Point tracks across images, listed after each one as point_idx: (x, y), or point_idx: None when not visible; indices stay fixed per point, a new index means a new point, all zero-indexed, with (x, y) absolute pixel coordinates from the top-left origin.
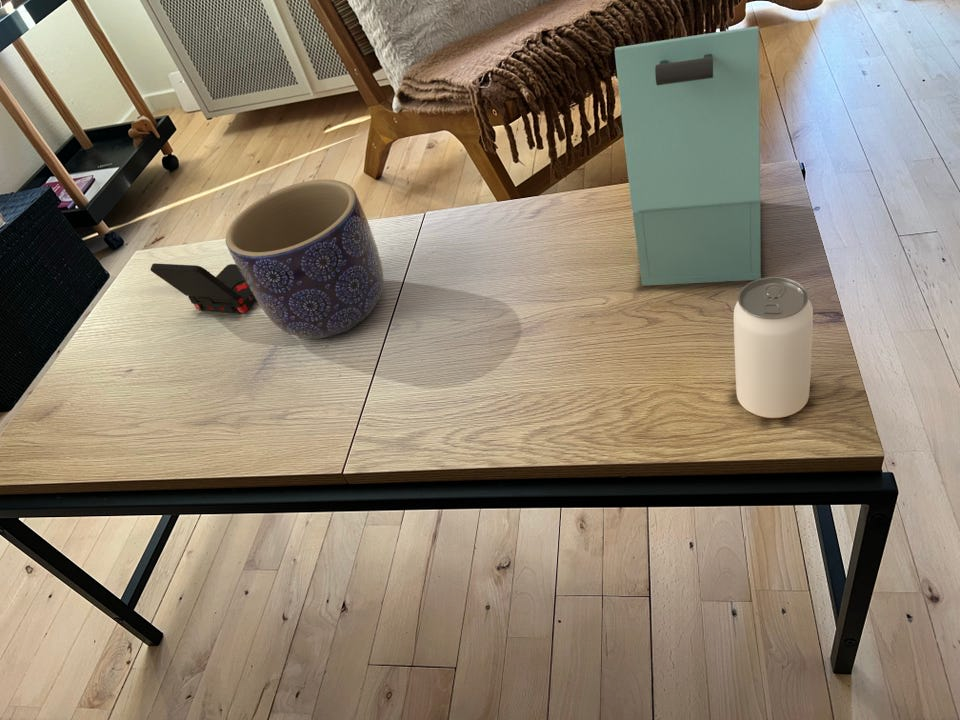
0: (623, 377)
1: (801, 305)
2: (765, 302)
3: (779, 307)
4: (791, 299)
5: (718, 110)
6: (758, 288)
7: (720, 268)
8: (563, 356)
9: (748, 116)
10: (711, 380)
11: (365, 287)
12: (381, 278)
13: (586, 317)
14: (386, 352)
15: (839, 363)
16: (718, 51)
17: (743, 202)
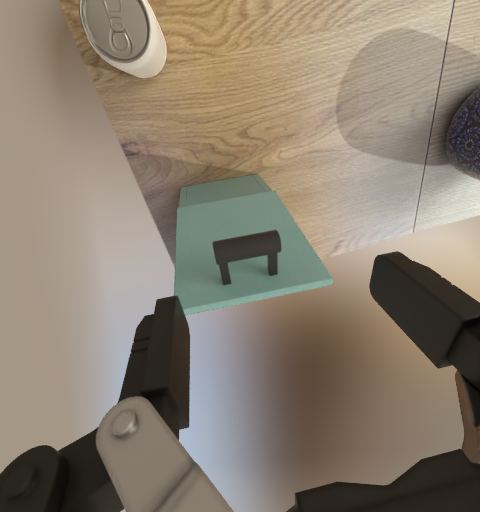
0: (253, 60)
1: (86, 12)
2: (121, 14)
3: (105, 4)
4: (99, 24)
5: (212, 247)
6: (136, 45)
7: (206, 186)
8: (301, 83)
9: (185, 247)
10: (188, 63)
11: (474, 113)
12: (454, 140)
13: (290, 134)
14: (436, 74)
15: (104, 95)
16: (216, 288)
17: None
